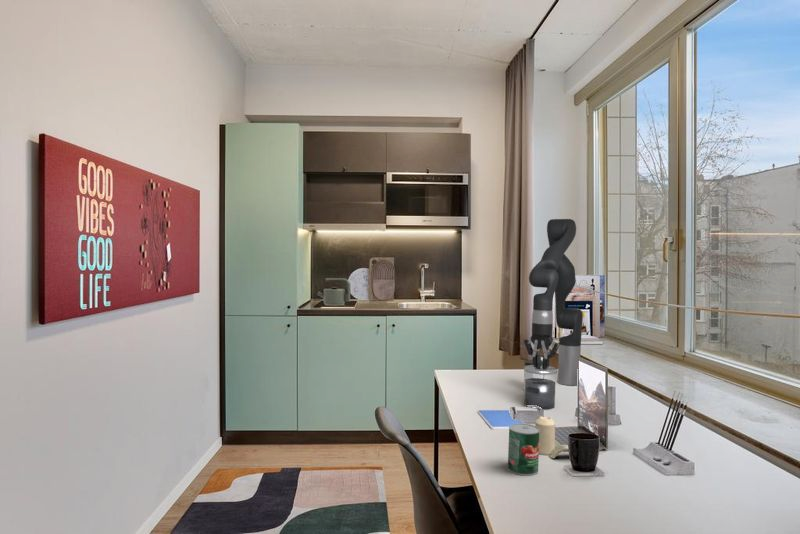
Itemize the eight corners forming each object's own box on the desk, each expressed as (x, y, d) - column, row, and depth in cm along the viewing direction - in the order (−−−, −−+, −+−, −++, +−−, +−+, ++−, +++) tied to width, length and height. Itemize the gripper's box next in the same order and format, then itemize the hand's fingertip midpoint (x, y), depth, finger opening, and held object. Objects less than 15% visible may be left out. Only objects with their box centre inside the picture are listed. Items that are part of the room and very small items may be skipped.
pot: (534, 398, 212) (535, 375, 212) (561, 404, 205) (562, 380, 205) (516, 406, 200) (517, 382, 199) (544, 412, 193) (545, 387, 193)
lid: (532, 366, 210) (533, 350, 210) (562, 370, 203) (562, 355, 203) (518, 370, 201) (519, 354, 201) (549, 376, 193) (549, 359, 193)
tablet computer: (476, 413, 193) (476, 409, 193) (510, 412, 194) (511, 409, 194) (491, 431, 173) (491, 427, 173) (529, 430, 175) (529, 426, 175)
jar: (548, 391, 223) (549, 362, 223) (536, 394, 218) (537, 365, 218) (530, 387, 230) (531, 359, 230) (518, 389, 225) (519, 361, 225)
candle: (554, 449, 157) (555, 415, 156) (553, 456, 151) (554, 421, 151) (535, 447, 158) (536, 413, 158) (533, 453, 153) (534, 418, 153)
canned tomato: (533, 478, 136) (535, 435, 136) (503, 471, 140) (504, 429, 140) (541, 467, 143) (543, 426, 143) (512, 461, 147) (514, 421, 147)
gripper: (564, 323, 200) (562, 369, 201) (529, 319, 209) (527, 363, 209) (556, 324, 194) (554, 372, 195) (520, 320, 203) (519, 366, 203)
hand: (540, 367), depth 202 cm, fingers closed on lid, 3 cm apart
